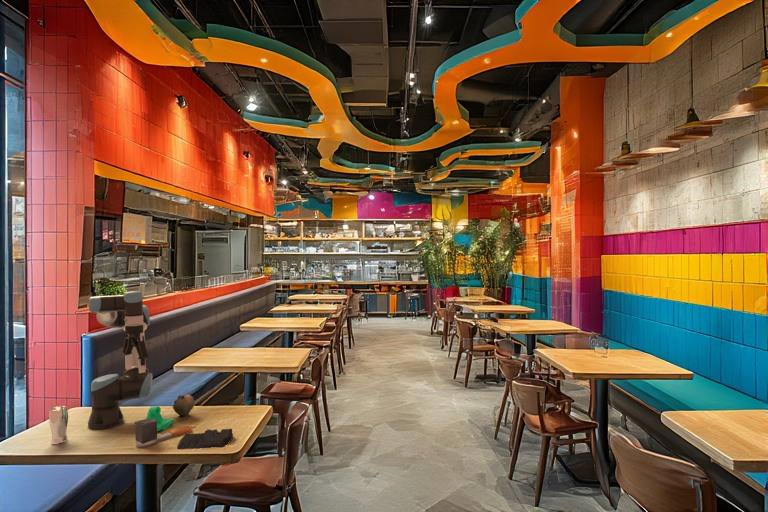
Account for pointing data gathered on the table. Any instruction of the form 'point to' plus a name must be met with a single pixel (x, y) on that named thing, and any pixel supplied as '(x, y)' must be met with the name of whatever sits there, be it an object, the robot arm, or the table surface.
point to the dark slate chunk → (206, 439)
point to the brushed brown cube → (146, 430)
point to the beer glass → (58, 424)
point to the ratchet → (165, 436)
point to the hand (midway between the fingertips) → (135, 370)
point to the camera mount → (158, 418)
